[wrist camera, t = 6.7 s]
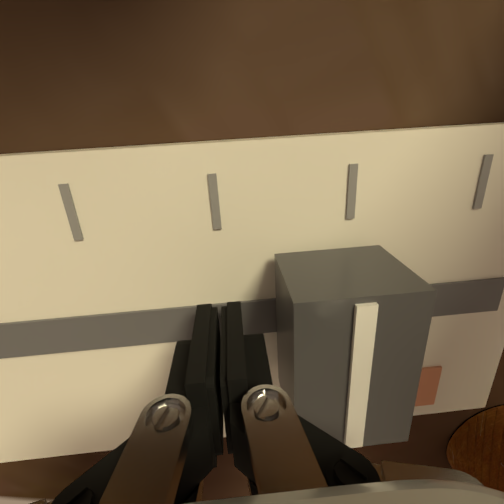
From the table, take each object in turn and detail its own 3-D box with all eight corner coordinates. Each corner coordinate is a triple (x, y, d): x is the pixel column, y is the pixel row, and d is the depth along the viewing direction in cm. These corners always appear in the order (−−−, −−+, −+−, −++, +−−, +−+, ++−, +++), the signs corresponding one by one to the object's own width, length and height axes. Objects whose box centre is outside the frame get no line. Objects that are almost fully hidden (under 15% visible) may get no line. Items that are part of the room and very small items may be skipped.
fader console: (535, 119, 13) (578, 119, 11) (464, 385, 18) (487, 409, 16) (-155, 164, 11) (-214, 170, 10) (-9, 437, 17) (-32, 468, 15)
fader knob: (379, 244, 12) (440, 292, 8) (365, 368, 14) (410, 445, 11) (274, 253, 12) (294, 306, 8) (278, 378, 14) (295, 458, 11)
